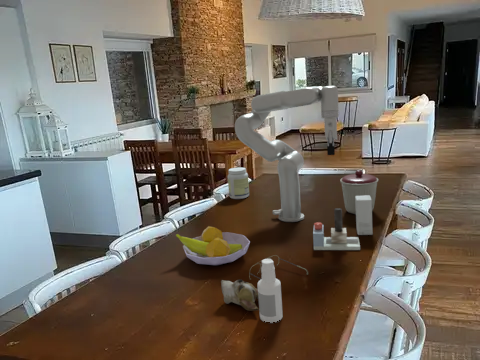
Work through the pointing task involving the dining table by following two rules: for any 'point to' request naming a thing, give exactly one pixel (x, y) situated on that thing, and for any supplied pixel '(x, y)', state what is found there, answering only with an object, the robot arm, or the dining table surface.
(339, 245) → the rail board
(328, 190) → the dining table surface
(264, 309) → the white bottle
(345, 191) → the canister
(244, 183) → the supplement tub
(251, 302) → the ceramic sculpture
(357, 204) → the skincare box
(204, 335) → the dining table surface
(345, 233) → the carriage
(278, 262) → the eyeglasses
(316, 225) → the button
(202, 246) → the fruit bowl
